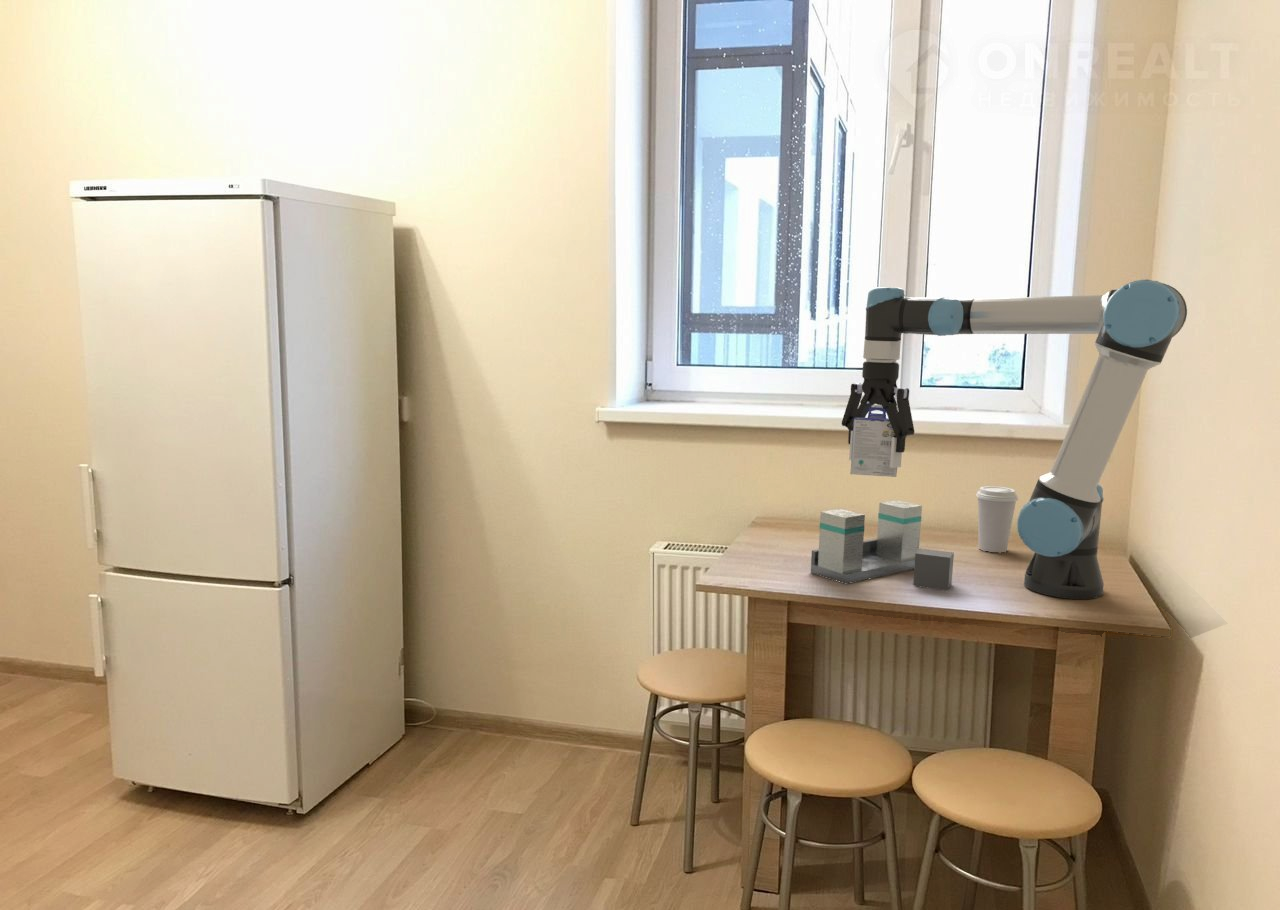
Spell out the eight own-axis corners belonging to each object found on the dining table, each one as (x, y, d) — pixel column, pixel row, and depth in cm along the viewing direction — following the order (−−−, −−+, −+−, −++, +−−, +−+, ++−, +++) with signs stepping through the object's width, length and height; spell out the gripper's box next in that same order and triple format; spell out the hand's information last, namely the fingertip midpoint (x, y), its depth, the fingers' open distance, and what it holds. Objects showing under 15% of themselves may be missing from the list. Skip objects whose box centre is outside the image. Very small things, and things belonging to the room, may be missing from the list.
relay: (947, 590, 196) (950, 557, 195) (913, 585, 199) (915, 553, 198) (951, 584, 201) (953, 552, 200) (917, 580, 204) (919, 548, 203)
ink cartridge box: (896, 473, 208) (901, 407, 205) (897, 478, 202) (902, 410, 200) (850, 470, 210) (854, 405, 207) (850, 475, 204) (854, 408, 202)
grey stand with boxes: (921, 567, 214) (925, 506, 212) (845, 584, 199) (849, 518, 197) (886, 557, 222) (889, 498, 219) (810, 572, 207) (813, 510, 205)
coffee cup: (984, 555, 226) (989, 493, 223) (964, 545, 235) (969, 485, 233) (1021, 554, 227) (1026, 492, 225) (1000, 544, 236) (1005, 485, 234)
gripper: (937, 364, 196) (929, 470, 199) (851, 357, 214) (845, 454, 217) (914, 364, 191) (907, 473, 195) (828, 357, 209) (822, 457, 213)
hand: (874, 463), depth 206 cm, fingers closed on ink cartridge box, 10 cm apart
